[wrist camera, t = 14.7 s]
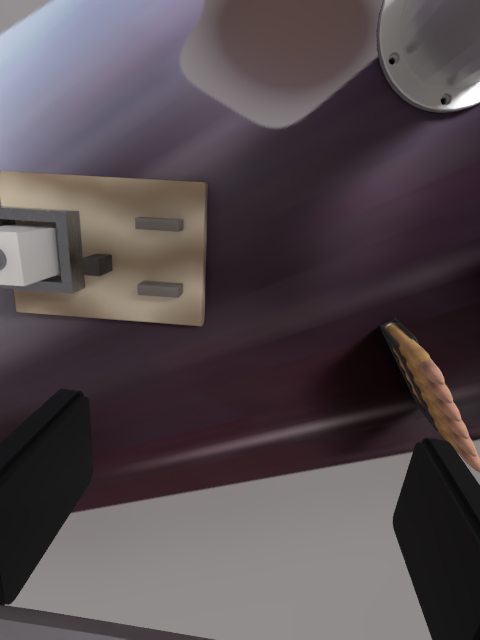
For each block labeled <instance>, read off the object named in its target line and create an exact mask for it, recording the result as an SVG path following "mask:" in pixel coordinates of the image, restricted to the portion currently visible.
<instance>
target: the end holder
mask: <svg viewBox="0 0 480 640" xmlns="http://www.w3.org/2000/svg"><path fill="white" fill-rule="evenodd" d="M15 220H26V221H42V222H56V230H57V240H58V250H59V260H60V270H61V277H60V276H53V277H50V278H47V279H44V280H41V281H38V282H35V283H32V284H30V285H27V286H12V285H0V288H3V289H16V290H30V291H44V292H57V293H71V294H73V293H75V292H77V291H80V290H82V289H84V288H85V278H84V275H83V271H82V259H81V258H83V253H82V241H81V228H80V216H79V211H73V210H56V209H39V208H23V207H6V206H0V226H7V225H16V223H15Z"/></svg>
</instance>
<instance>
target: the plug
mask: <svg viewBox="0 0 480 640" xmlns="http://www.w3.org/2000/svg"><path fill="white" fill-rule="evenodd" d="M58 274H61V270H60V260H59V250H58V240H57V230H56V226H42V225H25V224H18V225H7V226H0V285H12V286H27V285H30V284H32V283H35V282H38V281H41V280H44V279H47V278H50V277H53V276H56V275H58Z"/></svg>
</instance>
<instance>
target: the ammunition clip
mask: <svg viewBox="0 0 480 640" xmlns="http://www.w3.org/2000/svg"><path fill="white" fill-rule="evenodd" d="M380 329H381V331H382V333H383V335H384V337H385V339H386V341H387V344H388V346H389V348H390V350H391V352H392V354H393V356H394V358H395V360H396V362H397V364H398V366H399V368H400V371H401V373H402V375H403V377H404V379H405V381H406V383H407V385H408V387H409V389H410V391H411V393H412V396H413V398H414V400H415V402H416V404H417V406H418V407H419V408H420V410H421V411H422V412H423V414H424V415H425V416H426V418H427V419H428V420H429V422H430V423H431V425H432V426H433V427H434V429H435V430H436V431H439V432H440V433H441V435H442V436H443V437H444V439H445V440H446V441H448V442H450V443H451V445H452V446H453V448H454V449H455V450H456V451H457V452H458V453H459V454H460V456H461V457H462V458H463V459H464V460H465V461H466V462H467V463H468V464H469V465H470V466H471V467H472V468H473V469H475V470H476V471H478V472H480V458H479V456H478V454H477V452H476V449H475V446H474V444H473V442H472V440H471V439H470V437H469V433H468V431H467V428H466V426H465V424H464V423H463V421H462V420H461V415H460V413H459V410H458V408H457V407H456V405H455V404H454V402H453V398H452V395H451V393H450V391H449V389H448V387H447V386H446V385H445V383H444V377H443V375H442V373H441V371H440V370H439V368H438V367H437V366H436V365H435V364H434V362H433V361H432V360H431V359H430V357H429V355H428V353H427V352H426V351H425V350H424V349H423V348H422V347H421V346H420V345H419V344H418V341H417V339H416V337H415V336H414V335H413V334H412V333H411V332H409V331H408V330H407V329H406V328H405V327H404V326H403V325H402V324H401V323H400V322H399V321H398V320H397V319H396V318H395V319H393V320H391V321H389V322H387V323H385V324H383V325H381V326H380Z"/></svg>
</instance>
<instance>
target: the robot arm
mask: <svg viewBox="0 0 480 640" xmlns="http://www.w3.org/2000/svg"><path fill="white" fill-rule="evenodd" d="M377 51H378V56H379V61H380V65H381V68H382V70H383V73H384V75H385V78H386V79H387V81H388V82H389V84H390V85H391V87H392V89H393V90H394V91H395V92H396V93H397V94H398V95H399V96H400V97H401V98H402V99H403V100H404V101H406V102H408V103H409V104H411V105H413V106H414V107H416V108H419V109H422V110H425V111H429V112H438V113H447V112H456V111H460V110H463V109H466V108H470V107H473V106H475V105H477V104H479V103H480V0H383V3H382V6H381V10H380V13H379V19H378V27H377ZM390 59H391V60H393V65H391V64H390V63H389V60H390ZM441 99H443V100H444V104H443V105H442V103H441ZM92 473H93V467H92V448H91V429H90V410H89V399H88V398H87V397H84V394H83V392H81V391H75V390H68V389H60V390H59V391H57V392H56V393H55V394H54V395H53V396H52V397H51V398H50V399H49V400H48V401H46V402H45V403H44V404H43V405H42V406H41V407H40V408H39V409H38V410H37V411H35V412H34V413H33V414H32V415H31V416H30V417H29V418H28V419H27V420H26V421H24V422H23V423H22V424H21V425H20V426H19V427H18V428H17V429H16V430H15V431H14V432H12V433H11V434H10V435H9V436H8V437H7V438H6V439H5V440H4V441H3V442H1V443H0V640H213V639H208V638H201V637H196V636H190V635H184V634H178V633H172V632H166V631H160V630H155V629H149V628H142V627H136V626H130V625H124V624H118V623H112V622H106V621H100V620H94V619H88V618H82V617H76V616H70V615H64V614H58V613H52V612H46V611H39V610H33V609H26V608H18V607H12V606H5V604H8V605H9V604H11V603H12V602H13V601H14V600H15V598H16V597H17V596H18V594H19V592H20V591H21V589H22V588H23V586H24V585H25V583H26V582H27V580H28V578H29V577H30V575H31V574H32V572H33V570H34V569H35V567H36V566H37V564H38V563H39V561H40V560H41V558H42V557H43V555H44V553H45V552H46V550H47V549H48V547H49V546H50V544H51V543H52V541H53V539H54V538H55V536H56V535H57V533H58V532H59V530H60V528H61V527H62V525H63V524H64V522H65V521H66V519H67V518H68V516H69V514H70V513H71V511H72V510H73V508H74V507H75V505H76V504H77V502H78V500H79V499H80V497H81V496H82V494H83V493H84V491H85V490H86V488H87V486H88V485H89V483H90V481H91V478H92ZM393 527H394V531H395V534H396V537H397V540H398V543H399V546H400V549H401V551H402V554H403V557H404V560H405V563H406V566H407V569H408V572H409V574H410V577H411V580H412V583H413V586H414V589H415V592H416V594H417V597H418V600H419V603H420V606H421V609H422V612H423V614H424V617H425V620H426V623H427V626H428V629H429V632H430V634H431V637H432V640H480V485H479V484H478V482H477V481H476V479H475V478H474V476H473V475H472V474H471V472H470V471H469V469H468V468H467V466H466V465H465V463H464V462H463V461H462V459H461V458H460V456H459V455H458V454H457V452H456V450H455V449H454V448H453V446H452V445H451V443H450V442H448V441H445V440H438V439H430V438H425V439H424V440H423V441H422V443H420V442H418V443H417V444H416V445H415V448H414V451H413V454H412V457H411V460H410V464H409V467H408V470H407V473H406V477H405V480H404V483H403V486H402V489H401V493H400V496H399V499H398V502H397V505H396V509H395V512H394V516H393Z"/></svg>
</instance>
